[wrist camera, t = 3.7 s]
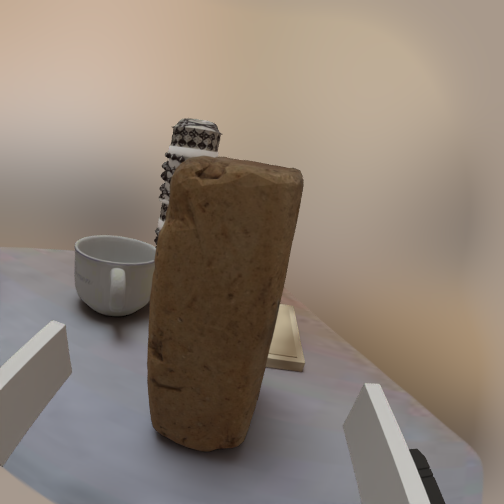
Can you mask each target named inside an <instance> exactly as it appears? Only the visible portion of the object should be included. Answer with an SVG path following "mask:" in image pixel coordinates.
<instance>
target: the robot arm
mask: <svg viewBox="0 0 504 504" xmlns="http://www.w3.org/2000/svg"><path fill="white" fill-rule="evenodd" d="M71 373H72V368H71V362H70V356H69V349H68V341H67V333H66V325H65V324H62V323H59V322H56V321H53V320H52V321H51V322H50V323H49V324H47V325H46V326H45V327H44V328H43V329H42V330H41V331H39V332H38V333H37V334H36V335H35V336H34V337H33V338H32V339H31V340H29V341H28V342H27V343H26V344H25V345H24V346H23V347H22V348H21V349H20V350H19V351H17V352H16V353H15V354H14V355H13V356H12V357H11V358H10V359H9V360H8V361H7V362H6V363H5V364H4V365H3V366H2V367H0V466H2V467H3V465H4V464H5V462H6V461H7V459H8V458H9V457H10V455H11V454H12V452H13V451H14V449H15V448H16V446H17V445H18V444H19V442H20V441H21V439H22V438H23V437H24V435H25V434H26V432H27V431H28V430H29V428H30V427H31V426H32V424H33V423H34V421H35V420H36V419H37V417H38V416H39V415H40V413H41V412H42V411H43V409H44V408H45V407H46V405H47V404H48V403H49V401H50V400H51V399H52V398H53V396H54V395H55V394H56V392H57V391H58V390H59V389H60V387H61V386H62V385H63V383H64V382H65V381H66V380H67V378H68V377H69V376H70V375H71ZM343 429H344V433H345V437H346V440H347V444H348V448H349V452H350V456H351V460H352V464H353V468H354V472H355V476H356V480H357V485H358V489H359V493H360V497H361V502H362V504H445V502H444V499H443V497H442V494H441V492H440V490H439V487H438V485H437V483H436V480H435V478H434V477H433V473H432V471H431V469H429V468H430V467H429V464H428V462H427V460H426V458H425V456H424V455H423V454H422V453H421V452H420V451H419V450H418V449H408V447H407V444H406V442H405V440H404V437H403V435H402V433H401V430H400V428H399V426H398V424H397V421H396V419H395V417H394V415H393V412H392V410H391V408H390V406H389V404H388V401H387V399H386V397H385V395H384V393H383V391H382V388H381V386H380V384H367V383H364V385H363V387H362V389H361V391H360V393H359V395H358V397H357V399H356V401H355V403H354V405H353V407H352V409H351V411H350V413H349V415H348V417H347V419H346V421H345V423H344V424H343Z"/></svg>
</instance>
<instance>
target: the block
mask: <svg viewBox="0 0 504 504" xmlns="http://www.w3.org/2000/svg"><path fill="white" fill-rule="evenodd" d="M302 191H303V178H302V174H301V171H300V170H297V169H295V168H286V167H281V166H274V165H269V164H263V163H259V162H253V161H248V160H237V159H230V158H227V157H215V158H214V157H210V156H199V157H191V158H188V159H187V160H185V161H184V162H182V163H181V164H180V165H179V166H178V167H177V168H176V170H175V172H174V174H173V176H172V177H171V181H170V197H169V205H168V208H167V212H166V220H165V223H164V225H163V227H162V229H161V231H160V232H159V235H158V241H157V247H156V253H155V259H154V262H155V269H154V272H153V278H152V288H151V294H150V310H149V338H148V359H147V368H148V380H147V381H148V395H149V406H150V414H151V421H152V424H153V427H154V429H155V430H156V431H157V432H158V433H160V434H161V435H163V436H165V437H167V438H169V439H171V440H172V441H174V442H176V443H178V444H181V445H183V446H186V447H189V448H192V449H195V450H199V451H212V450H215V449H221V448H234V447H237V446H238V445H240V444H241V443H242V442H243V441H244V439H245V437H246V434H247V431H248V429H249V426H250V423H251V419H252V416H253V412H254V409H255V406H256V402H257V400H258V396H259V392H260V388H261V383H262V380H263V375H264V371H265V367H266V363H267V358H268V354H269V350H270V346H271V342H272V338H273V334H274V330H275V325H276V320H277V316H278V311H279V306H280V301H281V296H282V292H283V288H284V283H285V278H286V273H287V268H288V262H289V257H290V251H291V246H292V241H293V237H294V233H295V228H296V224H297V218H298V213H299V208H300V203H301V197H302Z"/></svg>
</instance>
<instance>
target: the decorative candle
mask: <svg viewBox="0 0 504 504" xmlns="http://www.w3.org/2000/svg"><path fill="white" fill-rule="evenodd" d="M173 128H174V129H173V135H172V142H171V145H170V146H169V151H168V153H166V154H165V156H166V157H167V158H169V161H167V162H165V163H164V164H163V165H162V168H164V169H165V170H166V171H164V172H163V173H162V174H161V177H162V179H163V180H164V181H165V183H164V184H162V185H161V187H160V190H161V191H162V194H161V195H160V196H159V198H160V199H159V200H160V201H161V202H162V207H161V215H160V218H159V222H158V228H157V229H156V230H155V232H156V234H157V237H156V239H155V240H154V241H155V243H156V245H157V241H158V235H159V232H160V231H161V229H162V227H163V225H164V223H165V220H166V212H167V208H168V205H169V197H170V181H171V177H172V176H173V174H174V172H175V170H176V168H177V167H178V166H179V165H180V164H181V163H182V162H184V161H185V160H187V159H188V158H191V157H199V156H210V157H214V158H215V157H218V147H219V141H220V136H221V135H222V134H221V133H220V132H219V130H218V128H217V125H216V124H214V123H212V122H209V121H204V120H198V119H182V120H180V121H179V122H178V123H177V125H175V126H174V127H173ZM156 247H157V246H156ZM156 247H155V248H156Z"/></svg>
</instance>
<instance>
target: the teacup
mask: <svg viewBox="0 0 504 504" xmlns="http://www.w3.org/2000/svg"><path fill="white" fill-rule="evenodd" d="M155 253H156V248H155V247H154V246H152V245H150V244H148V243H145V242H142V241H139V240H135V239H130V238H126V237H121V236H110V235H99V236H90V237H85V238H82V239H80V240H78V241H77V242H76V243H75V286H76V290H77V293H78V295H79V296H80V298H81V299H82V300H83V301H84V302H85V303H86V304H87V305H89V306H90V307H91V308H92V309H93V310H95V311H96V312H98V313H101V314H104V315H109V316H125V315H129V314H132V313H134V312H135V311H137V310H139V309H141V308H142V307H144V306H145V305H146V304H147V303H148V302H149V301H150V294H151V288H152V278H153V272H154V269H155V262H154V259H155Z"/></svg>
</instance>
